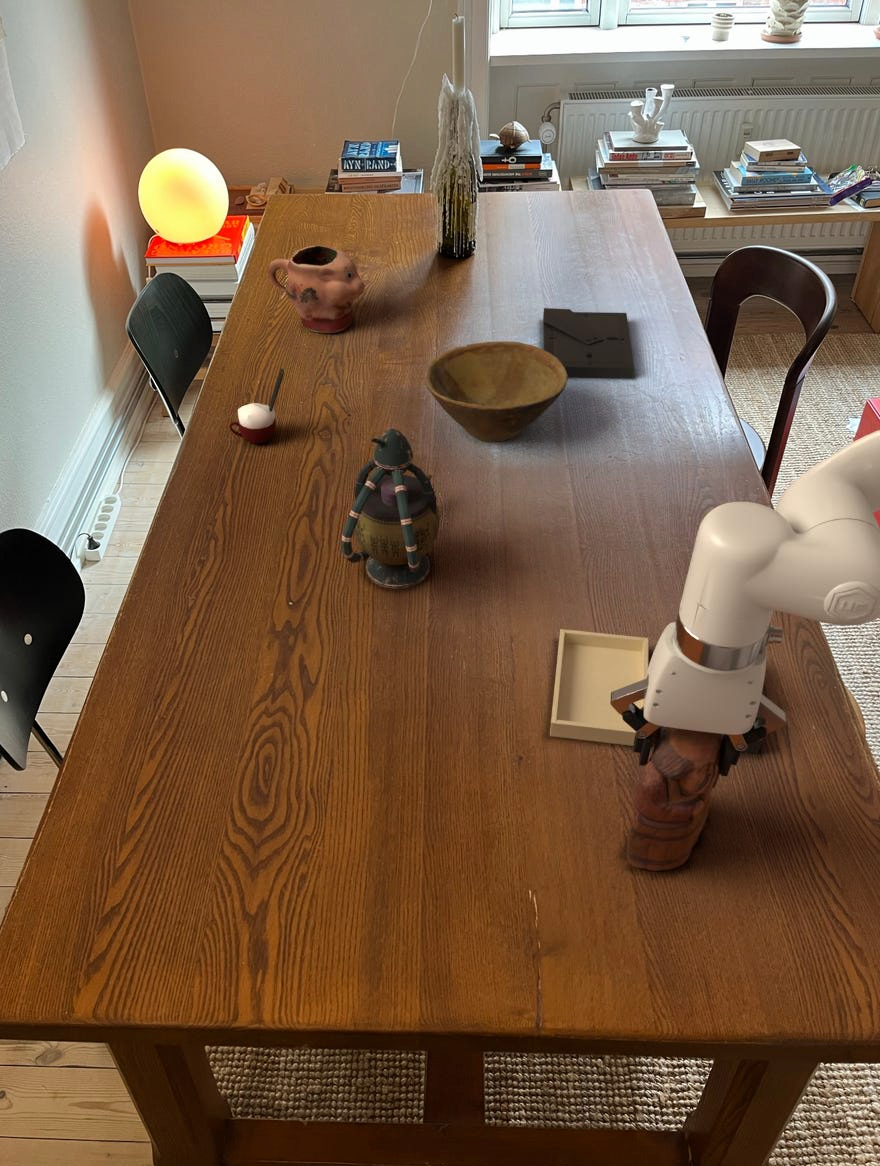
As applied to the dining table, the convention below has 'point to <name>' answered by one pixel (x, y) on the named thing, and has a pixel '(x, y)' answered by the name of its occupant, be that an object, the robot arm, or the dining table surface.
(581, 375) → the dark brown flat slab
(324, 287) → the sculpted clay mug
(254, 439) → the cocoa
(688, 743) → the wooden figurine
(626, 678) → the pale tray
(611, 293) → the dining table surface
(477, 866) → the dining table surface
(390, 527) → the green octopus jar
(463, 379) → the bowl
